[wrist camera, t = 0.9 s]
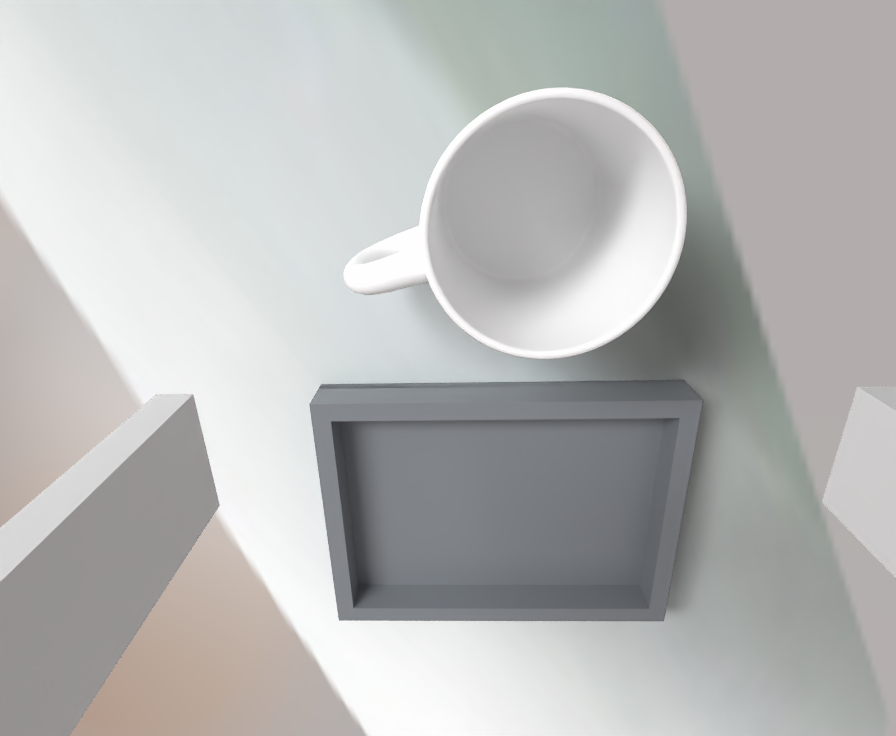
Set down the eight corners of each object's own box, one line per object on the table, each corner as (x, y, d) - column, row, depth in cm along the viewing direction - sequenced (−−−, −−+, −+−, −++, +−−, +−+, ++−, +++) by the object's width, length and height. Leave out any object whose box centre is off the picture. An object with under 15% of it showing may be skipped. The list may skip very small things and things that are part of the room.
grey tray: (321, 384, 30) (309, 404, 28) (683, 380, 29) (702, 400, 27) (346, 589, 36) (338, 620, 34) (650, 589, 35) (663, 621, 33)
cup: (620, 260, 27) (703, 322, 18) (395, 325, 29) (362, 413, 19) (587, 83, 24) (667, 44, 15) (338, 166, 26) (267, 179, 16)
